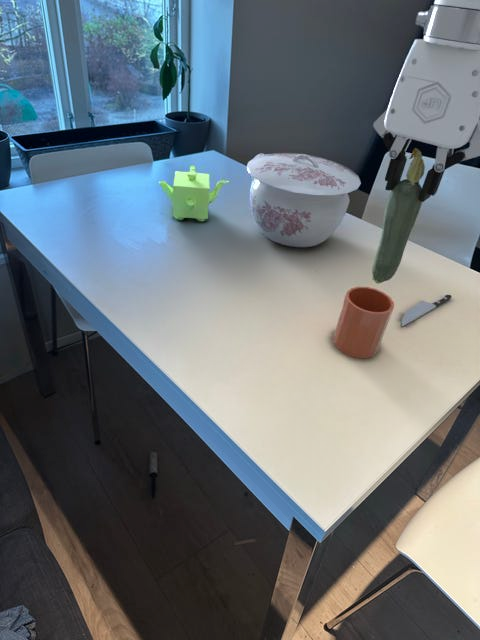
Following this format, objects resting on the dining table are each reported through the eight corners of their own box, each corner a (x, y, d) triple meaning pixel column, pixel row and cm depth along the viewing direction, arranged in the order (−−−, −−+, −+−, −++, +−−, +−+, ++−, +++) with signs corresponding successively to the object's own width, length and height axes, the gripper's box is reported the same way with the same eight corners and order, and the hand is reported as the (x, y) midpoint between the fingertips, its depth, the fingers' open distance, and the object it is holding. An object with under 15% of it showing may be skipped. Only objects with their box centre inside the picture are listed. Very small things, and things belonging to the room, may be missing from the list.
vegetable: (394, 294, 66) (444, 158, 54) (365, 291, 66) (409, 154, 54) (386, 278, 70) (432, 147, 58) (359, 276, 70) (399, 144, 58)
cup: (384, 343, 84) (401, 300, 78) (365, 365, 78) (382, 320, 72) (345, 324, 88) (359, 281, 82) (325, 343, 82) (337, 299, 76)
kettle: (191, 199, 129) (193, 160, 122) (228, 216, 122) (232, 175, 116) (151, 212, 119) (151, 170, 112) (189, 231, 112) (191, 188, 106)
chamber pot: (354, 265, 107) (379, 181, 94) (240, 256, 105) (250, 168, 92) (333, 216, 129) (351, 142, 117) (239, 208, 127) (246, 132, 115)
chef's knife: (389, 320, 90) (401, 327, 88) (390, 315, 90) (403, 323, 88) (439, 293, 101) (452, 299, 99) (441, 288, 100) (453, 294, 98)
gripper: (377, 19, 49) (338, 181, 60) (540, 43, 42) (462, 222, 53) (402, 20, 54) (362, 169, 65) (552, 42, 47) (478, 206, 58)
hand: (408, 192), depth 59 cm, fingers closed on vegetable, 3 cm apart
